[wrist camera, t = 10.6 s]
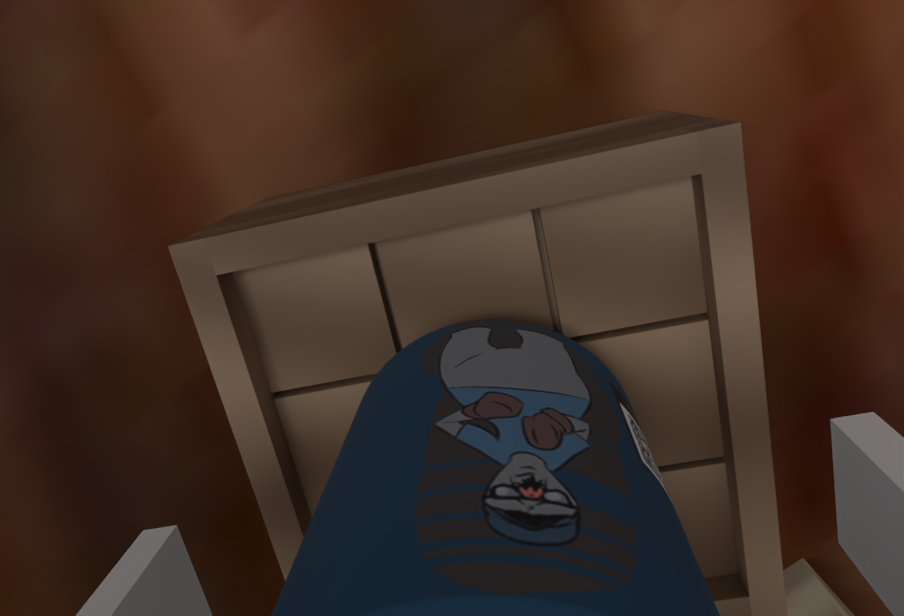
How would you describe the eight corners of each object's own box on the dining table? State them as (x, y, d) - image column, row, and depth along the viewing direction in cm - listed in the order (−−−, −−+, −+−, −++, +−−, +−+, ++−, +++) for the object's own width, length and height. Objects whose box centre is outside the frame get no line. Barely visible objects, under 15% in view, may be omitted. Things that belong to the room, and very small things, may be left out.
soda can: (438, 574, 19) (357, 1270, 8) (314, 371, 18) (-13, 885, 6) (670, 484, 18) (970, 1162, 7) (560, 254, 16) (710, 639, 5)
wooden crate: (262, 199, 22) (167, 246, 16) (663, 111, 21) (740, 122, 14) (363, 531, 26) (319, 679, 20) (709, 478, 25) (787, 619, 18)
